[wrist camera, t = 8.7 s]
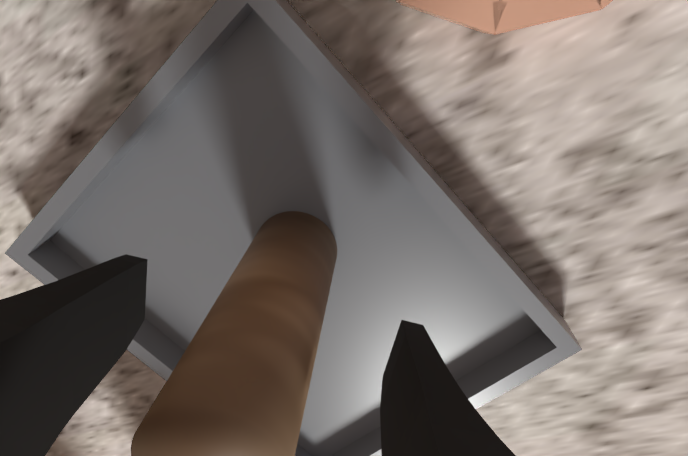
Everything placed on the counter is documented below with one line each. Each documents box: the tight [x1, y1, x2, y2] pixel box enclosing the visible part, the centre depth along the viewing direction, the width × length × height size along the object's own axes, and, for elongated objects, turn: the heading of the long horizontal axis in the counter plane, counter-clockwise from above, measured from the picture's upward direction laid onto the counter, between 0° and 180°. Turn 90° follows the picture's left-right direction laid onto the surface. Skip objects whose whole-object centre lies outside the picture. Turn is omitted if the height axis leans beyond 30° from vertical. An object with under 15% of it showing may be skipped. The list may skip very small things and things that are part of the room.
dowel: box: [131, 211, 337, 456], centre depth 13 cm, size 3×3×9 cm
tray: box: [5, 0, 582, 456], centre depth 17 cm, size 16×13×2 cm
